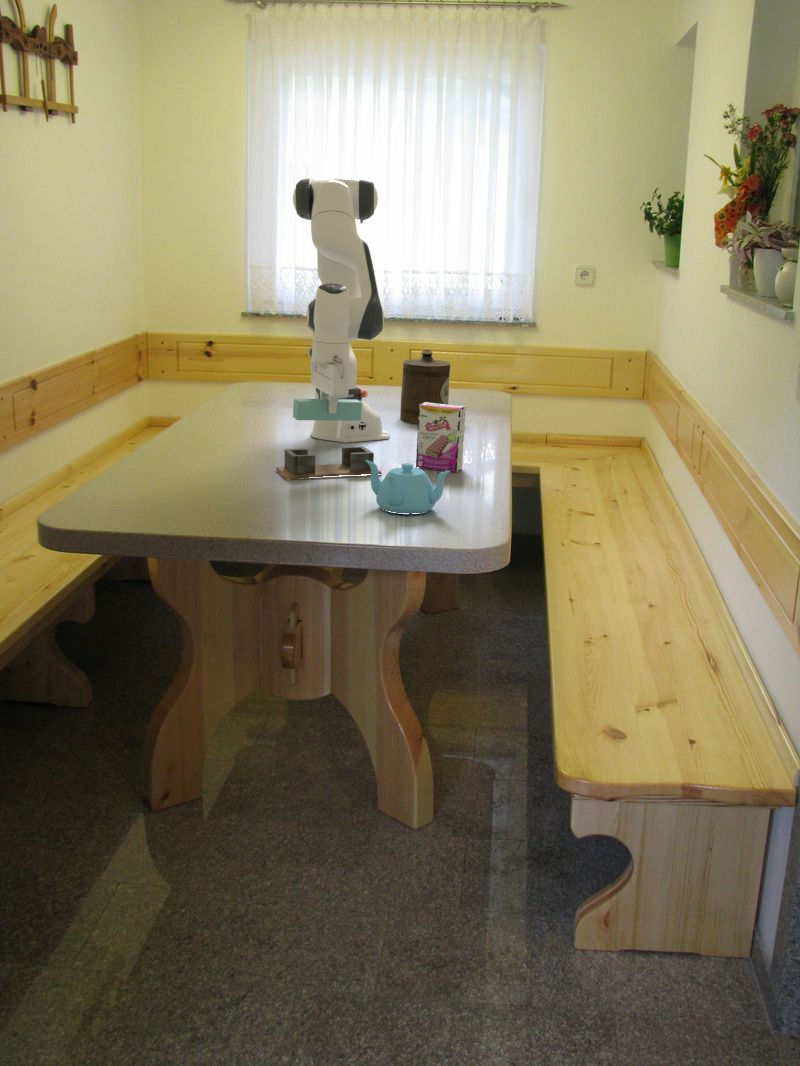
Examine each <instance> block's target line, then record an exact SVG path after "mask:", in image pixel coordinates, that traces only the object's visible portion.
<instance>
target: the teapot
mask: <svg viewBox="0 0 800 1066" xmlns="http://www.w3.org/2000/svg"><path fill="white" fill-rule="evenodd" d="M366 462H367V463H368V464H369V466H370V468H371V476H370V486H371V490H372V492H373V493H374V494H375V495H376V499H375V500H376V504H377V505H378V506H379V508H380V507H381V508H382V509H384V510H387V511H391V512H396V513H409V514H412V513H423V512H427V511H429V510H430V511H431V510H433V508H434V506H435V505H436V503H437V502H438V501H440V499H441V498H442V496H443V492H444V481H445V477H447V475H448V474H450V473H451V472H450V471H440V473H439V474H438V475H437V479H436V485H435V487H433V484H432V482H431V480H430V478H429V477H428V474H427V473H426V471H424V469H422V468H417V467H416V466H415V467H414V464H413V463H410V462H408V463H407V462H404V463H401V464H400V465H401V467H396V468H392V469H390V470H389V471H388V472H387V473H386V475H385V476H384V478H383V479H382V480H381V479H380V477H379V475H378V470H379V469H378V466H377V465H376V463H375V462H374V461H373V462H372V461H369V460H366ZM381 508H380V509H381ZM382 509H381V510H382ZM430 511H429V512H430ZM427 513H428V512H427Z"/></svg>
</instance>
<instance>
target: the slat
mask: <svg viewBox="0 0 800 1066" xmlns="http://www.w3.org/2000/svg"><path fill="white" fill-rule="evenodd" d="M328 405H329V399H315V398H293V407H292V410H293V412H292V418H293V419H295V420H296V421H314V420H336V421H361V410H362V402H360V401H359V400H350V399H339V400H338V403H337V406H336V413H335V414H330V413H329V412H328V411H327V410H328Z"/></svg>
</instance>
